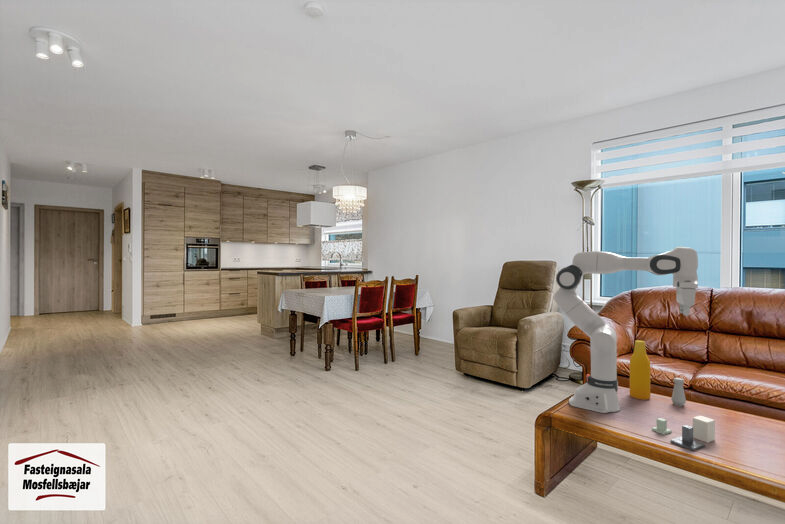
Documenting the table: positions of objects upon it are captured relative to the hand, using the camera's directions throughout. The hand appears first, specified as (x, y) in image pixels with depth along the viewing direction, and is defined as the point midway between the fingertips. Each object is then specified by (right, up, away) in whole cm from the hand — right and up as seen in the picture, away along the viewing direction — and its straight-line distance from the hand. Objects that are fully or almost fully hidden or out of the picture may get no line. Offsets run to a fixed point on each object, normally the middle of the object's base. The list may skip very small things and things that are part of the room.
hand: (684, 314), depth 177 cm
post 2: (-15, -48, -22) cm, 55 cm away
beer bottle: (-1, -47, +30) cm, 56 cm away
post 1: (-17, -48, -10) cm, 52 cm away
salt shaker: (+11, -47, +19) cm, 52 cm away
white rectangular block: (-5, -48, -17) cm, 51 cm away
